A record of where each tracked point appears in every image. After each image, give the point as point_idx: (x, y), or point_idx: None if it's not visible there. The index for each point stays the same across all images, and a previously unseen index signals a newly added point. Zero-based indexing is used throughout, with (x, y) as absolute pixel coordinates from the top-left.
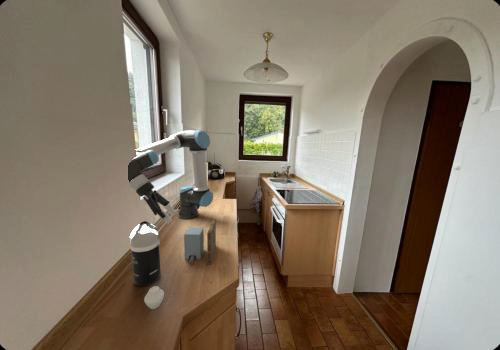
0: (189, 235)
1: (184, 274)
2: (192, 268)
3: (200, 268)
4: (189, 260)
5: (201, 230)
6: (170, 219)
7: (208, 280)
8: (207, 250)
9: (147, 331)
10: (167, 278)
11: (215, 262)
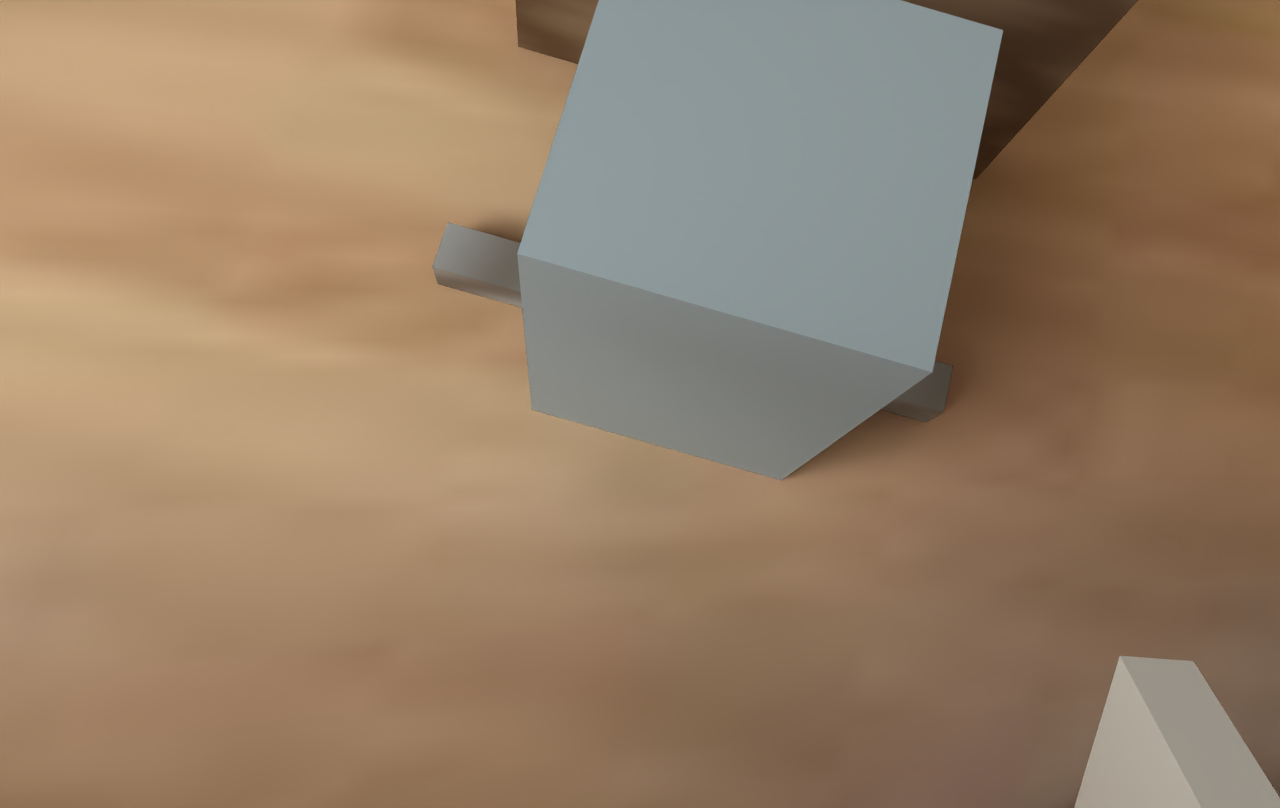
0: (947, 260)
1: (1126, 475)
2: (1021, 373)
3: (1039, 272)
4: (920, 399)
5: None
6: (1216, 735)
7: (1269, 200)
8: (1082, 60)
9: None
10: None
11: None
